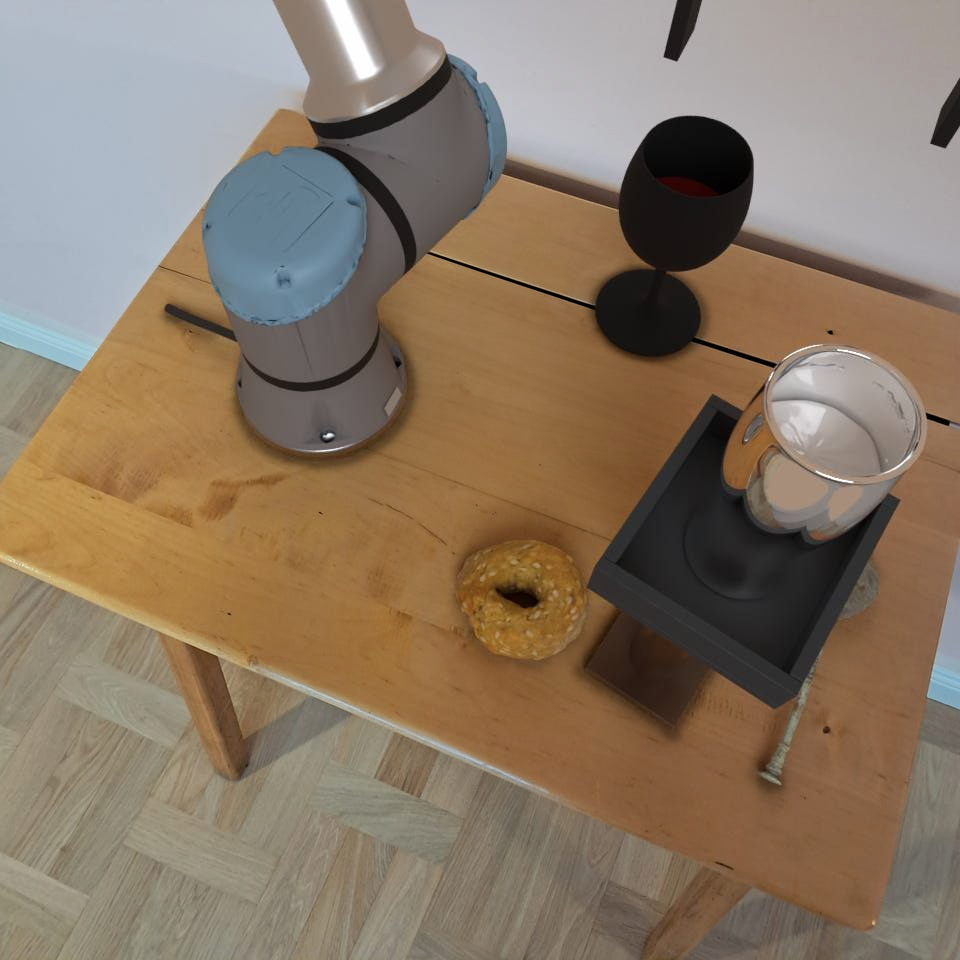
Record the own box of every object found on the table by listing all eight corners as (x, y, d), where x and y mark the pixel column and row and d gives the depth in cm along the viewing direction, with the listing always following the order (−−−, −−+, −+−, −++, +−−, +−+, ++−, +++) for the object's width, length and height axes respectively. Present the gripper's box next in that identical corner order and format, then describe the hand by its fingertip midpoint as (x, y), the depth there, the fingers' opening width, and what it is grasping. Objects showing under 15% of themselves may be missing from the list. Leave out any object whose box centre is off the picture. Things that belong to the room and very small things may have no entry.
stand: (583, 671, 69) (636, 570, 49) (634, 593, 72) (704, 467, 52) (671, 730, 67) (765, 652, 47) (719, 647, 70) (828, 539, 50)
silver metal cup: (798, 620, 47) (936, 503, 33) (669, 594, 47) (753, 468, 34) (803, 505, 50) (931, 355, 36) (681, 482, 50) (763, 325, 37)
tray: (585, 587, 48) (594, 566, 45) (698, 421, 53) (712, 393, 50) (774, 710, 45) (796, 696, 42) (875, 523, 50) (901, 499, 47)
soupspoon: (880, 562, 75) (806, 531, 76) (897, 546, 72) (819, 513, 73) (806, 803, 65) (722, 762, 66) (821, 795, 62) (733, 752, 64)
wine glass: (698, 274, 87) (760, 111, 69) (703, 361, 83) (770, 211, 65) (594, 267, 87) (629, 103, 69) (593, 354, 83) (630, 202, 65)
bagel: (495, 523, 75) (498, 499, 70) (607, 591, 72) (616, 571, 68) (429, 616, 71) (428, 597, 67) (544, 691, 68) (550, 676, 64)
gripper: (1565, -517, 24) (1073, 115, 43) (700, -669, 28) (602, -31, 47) (1593, -410, 21) (1050, 220, 40) (618, -598, 25) (548, 54, 44)
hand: (807, 85), depth 43 cm, fingers open, 13 cm apart
